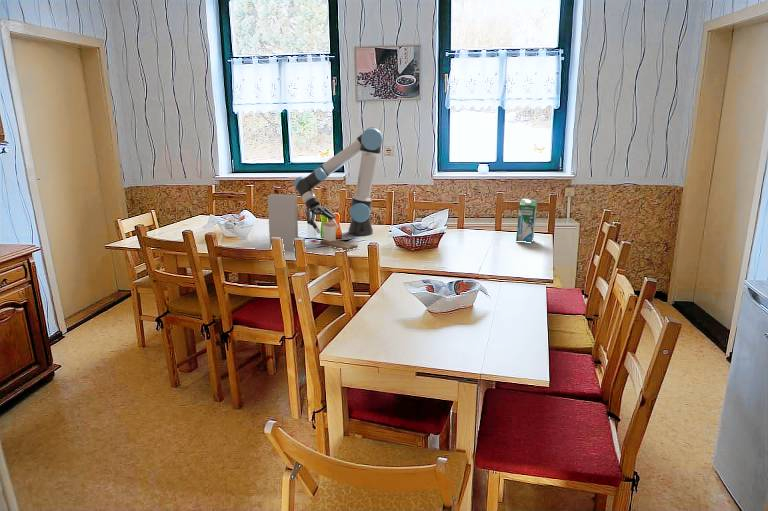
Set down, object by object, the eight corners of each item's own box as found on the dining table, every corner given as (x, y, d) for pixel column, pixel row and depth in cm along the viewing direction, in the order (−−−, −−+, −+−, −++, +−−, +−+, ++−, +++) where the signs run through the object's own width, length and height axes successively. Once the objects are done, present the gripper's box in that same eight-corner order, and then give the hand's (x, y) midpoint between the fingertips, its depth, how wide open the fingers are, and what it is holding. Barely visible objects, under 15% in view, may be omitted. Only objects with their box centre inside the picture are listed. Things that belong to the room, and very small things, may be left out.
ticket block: (330, 241, 296) (330, 238, 295) (357, 248, 282) (357, 244, 281) (320, 244, 290) (320, 240, 289) (347, 251, 276) (347, 247, 276)
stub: (328, 238, 293) (328, 221, 291) (335, 240, 290) (335, 223, 287) (323, 239, 290) (323, 222, 288) (330, 241, 287) (330, 224, 284)
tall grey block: (298, 249, 279) (296, 194, 270) (295, 251, 273) (294, 196, 265) (273, 248, 280) (270, 193, 272) (270, 250, 275) (267, 195, 266)
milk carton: (515, 242, 302) (519, 200, 295) (518, 238, 310) (521, 198, 303) (531, 244, 299) (535, 201, 292) (533, 240, 307) (537, 199, 300)
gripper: (323, 202, 305) (341, 230, 300) (290, 207, 287) (308, 238, 281) (329, 194, 300) (347, 223, 295) (296, 199, 282) (315, 230, 277)
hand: (328, 230), depth 288 cm, fingers open, 13 cm apart
